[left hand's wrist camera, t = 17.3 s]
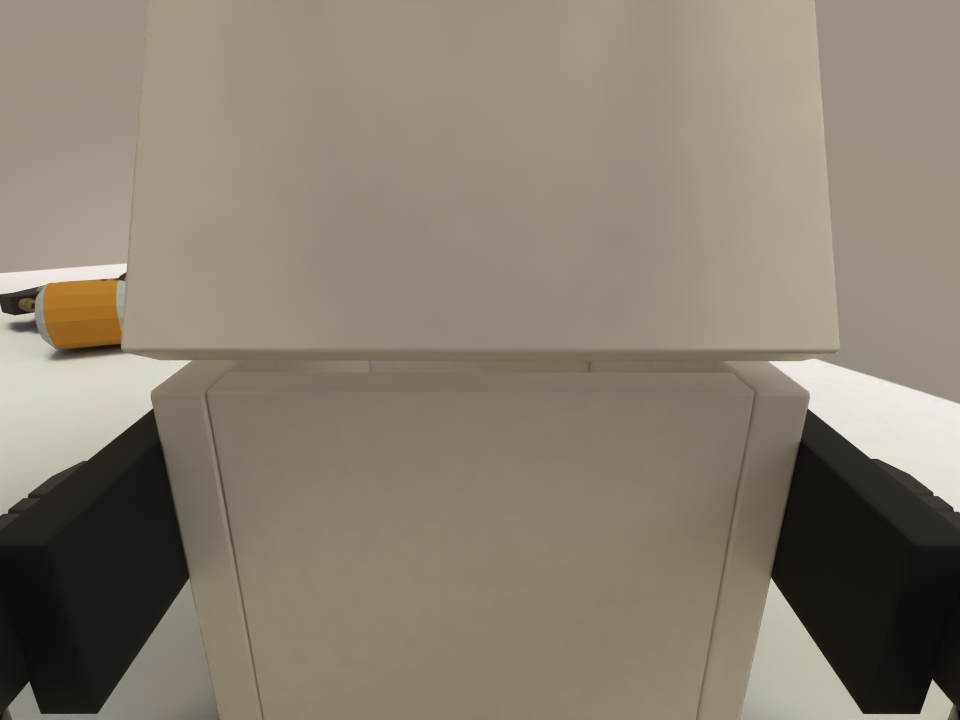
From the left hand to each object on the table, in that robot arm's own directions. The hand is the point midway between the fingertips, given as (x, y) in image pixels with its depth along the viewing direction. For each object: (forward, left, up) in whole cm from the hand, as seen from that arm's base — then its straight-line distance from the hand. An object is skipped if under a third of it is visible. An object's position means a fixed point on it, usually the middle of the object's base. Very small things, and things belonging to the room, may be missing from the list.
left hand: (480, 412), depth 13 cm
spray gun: (+39, +8, -7) cm, 40 cm away
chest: (+3, -1, -7) cm, 7 cm away
